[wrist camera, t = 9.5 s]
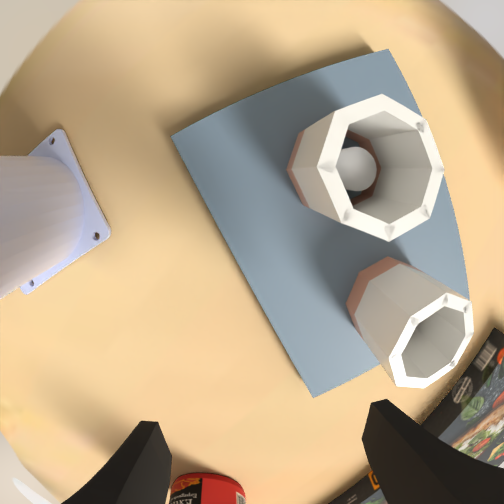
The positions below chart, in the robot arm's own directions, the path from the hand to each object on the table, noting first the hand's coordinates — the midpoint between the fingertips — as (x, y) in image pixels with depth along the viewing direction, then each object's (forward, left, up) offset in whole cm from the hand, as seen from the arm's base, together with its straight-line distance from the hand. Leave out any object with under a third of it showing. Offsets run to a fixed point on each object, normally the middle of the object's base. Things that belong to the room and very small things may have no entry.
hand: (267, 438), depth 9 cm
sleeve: (+8, +6, -9) cm, 13 cm away
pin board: (+8, +2, -10) cm, 13 cm away
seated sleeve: (+8, -3, -9) cm, 12 cm away
